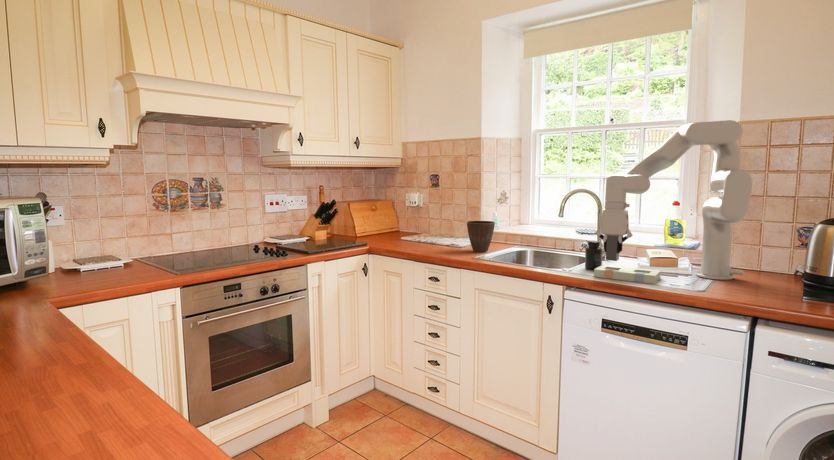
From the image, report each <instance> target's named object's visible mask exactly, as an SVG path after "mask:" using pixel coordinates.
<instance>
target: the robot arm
mask: <svg viewBox="0 0 834 460" xmlns="http://www.w3.org/2000/svg"><path fill="white" fill-rule="evenodd" d="M743 132H744V130H743V127H742V124H740V122H739V121H736V120H733V119H732V120H726V119H725V120H715V121H714V120H713V121H697V122H693V123H692V122H691V123H688V124H687V123H686V124H683V125H681V126H680V127H678V128H677V129H676V130H675V131H674V132H673V133H672V134H671V135H669V137H668V138H667V139H666V140H664V141H663V142H662V143H661V144H660V145H659V146H658V147H657V148H656V149H655V150H654V151H652V152H651V153H650V154H648V155H647V156H646V157H644V158H643V159H641V161H639V162H638V163H637V164H636V165H634V166H633V167H632V168H631V169H630V170H629V171H628V172H627V173H626V174H625V175H623V174H609V175H608V176H607V177H606V180H605V182H606V183H605V198H604V199H605V200H604V201H605V202H604V209H602V212H601V216H600V217H601V218H600V222H599V223H600V224H599V227H598V229H596V231H595V236H598V237H599V238H600V239H601V240H602V241H603V250H604V252H605V253H606V245H607V235H618V239H619V242H618V245H617V253H619V254H620V253H621V252H622V251H623V243H625V241H626V240H628V239H630V238H632V237H633V233H632V231H631V230H630V228H629V227H630V226H629V225H630V224H629V219H630V218H629V211H628V210H627V208H630V203H627V202H626V201H627V194H634V195H641V194H644V193H646V192H647V191H649V190H650V187H651V180H650V178H651V177H652V176H655V174H657V173H659V172H661V171H664V170H666V169H669V168H670V167H671V166H673V165H674V164H676V162H677V161H678V160H680V158H681V157H683V155H685V154H686V153H687V152H688V151H689V150H690V149H691V148H692V147H693V146H703V145H704V146H707V145H708V146H709V147H710V148H711V149H712V151H713V154H714V156H713V157H714V161H713V166H712V173H711V179H710V188H711V189H712V190H713V191H714V192H715V193H717V194H722V196H714V197H711V198H709V199H707V200H706V201H705V202H704V204H702V209H701V211H702V221H703V224H702V225H703V230H702V231H703V232H702V235H703V236H702V245H701V246H702V250H701V261H700V270H699V271H696V273H695V275H696V276H697V277H699V278H703V279H709V280H716V281H717V280H718V281H719V280H720V281H721V280H723V281H728V280H733V279H734V275H736V276H744V270H743V269H742V270H741V269H734V268H732V266H731V250H732V238H733V237H732V236H733V228H732V224H736V223H740V222H741V221H742V220H744V219H745V217H746V216H747V215H748V214H747V213H748V211H749V207H750V201H751V195H752V190H753V178H752V176H751V174H750V173H749V172H748V171H747V170H746V169H743V168H740V167H741V159H742V157H741V156H742V153H741V149H740V147H739V146H740V145H738V143H737V141H739V140H740V139H741V137H742V135H743ZM624 235H625V236H624Z"/></svg>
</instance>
